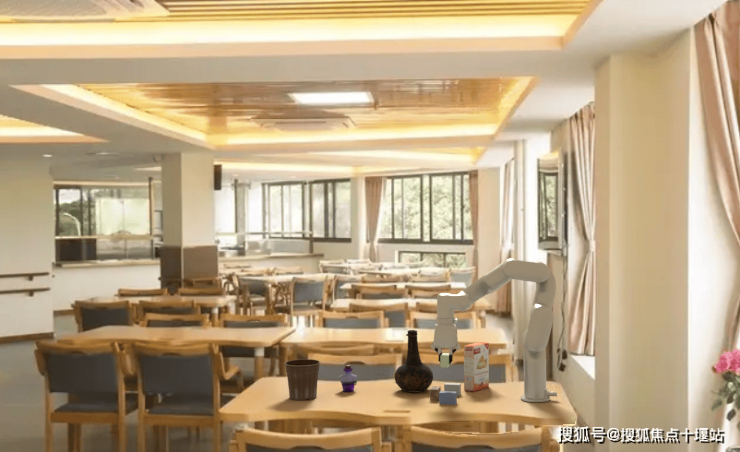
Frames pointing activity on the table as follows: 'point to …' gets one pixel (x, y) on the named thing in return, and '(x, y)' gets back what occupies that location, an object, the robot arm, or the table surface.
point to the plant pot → (302, 378)
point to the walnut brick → (435, 393)
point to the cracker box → (476, 366)
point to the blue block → (448, 397)
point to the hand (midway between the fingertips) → (445, 362)
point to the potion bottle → (348, 379)
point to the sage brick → (444, 360)
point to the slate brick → (453, 387)
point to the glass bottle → (413, 369)
